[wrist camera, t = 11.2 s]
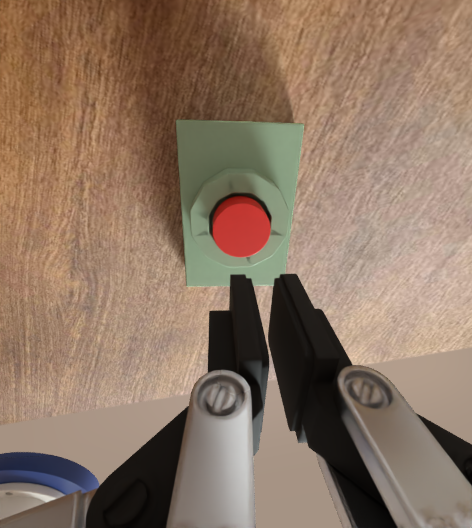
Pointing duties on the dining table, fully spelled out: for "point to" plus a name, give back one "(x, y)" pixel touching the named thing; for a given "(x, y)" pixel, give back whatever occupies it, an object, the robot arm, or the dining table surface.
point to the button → (240, 226)
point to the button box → (236, 193)
